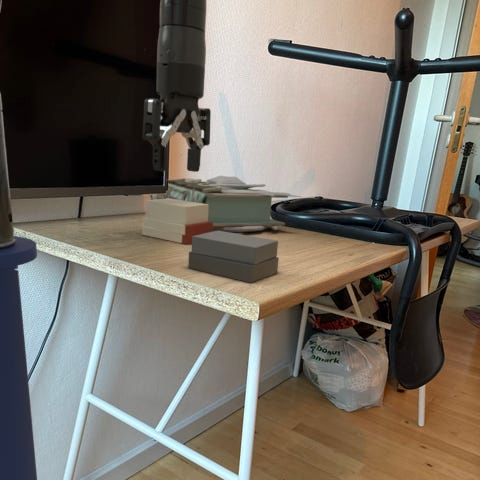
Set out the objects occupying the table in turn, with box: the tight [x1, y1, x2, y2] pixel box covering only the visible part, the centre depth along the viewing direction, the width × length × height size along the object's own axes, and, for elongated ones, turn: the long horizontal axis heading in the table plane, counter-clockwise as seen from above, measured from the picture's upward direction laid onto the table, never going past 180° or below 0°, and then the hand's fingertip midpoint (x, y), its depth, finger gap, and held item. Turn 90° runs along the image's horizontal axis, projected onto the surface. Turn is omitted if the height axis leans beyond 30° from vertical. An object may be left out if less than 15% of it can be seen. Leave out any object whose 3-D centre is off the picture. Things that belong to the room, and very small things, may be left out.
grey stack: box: [187, 231, 280, 284], centre depth 65 cm, size 7×10×4 cm
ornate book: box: [149, 175, 302, 233], centre depth 102 cm, size 23×10×30 cm
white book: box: [145, 198, 209, 225], centre depth 84 cm, size 6×9×3 cm, turn 57°
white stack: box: [141, 216, 214, 245], centre depth 85 cm, size 7×10×3 cm
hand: (177, 171), depth 82 cm, fingers open, 8 cm apart
